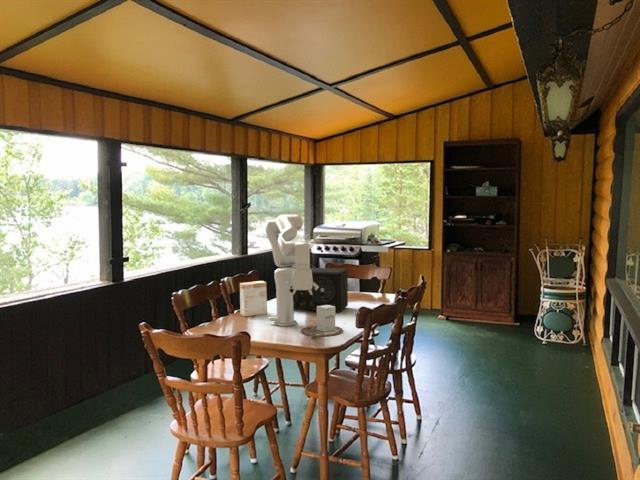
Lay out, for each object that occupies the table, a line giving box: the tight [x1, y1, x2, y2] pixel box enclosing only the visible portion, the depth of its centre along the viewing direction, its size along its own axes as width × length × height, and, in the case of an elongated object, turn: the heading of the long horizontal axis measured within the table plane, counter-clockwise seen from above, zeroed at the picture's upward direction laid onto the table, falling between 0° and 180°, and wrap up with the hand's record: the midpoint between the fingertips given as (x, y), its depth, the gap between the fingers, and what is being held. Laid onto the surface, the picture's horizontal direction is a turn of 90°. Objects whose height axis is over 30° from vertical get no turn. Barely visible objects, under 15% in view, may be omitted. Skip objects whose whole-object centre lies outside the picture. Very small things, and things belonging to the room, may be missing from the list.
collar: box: [300, 324, 344, 339], centre depth 282 cm, size 22×26×5 cm
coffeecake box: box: [239, 280, 268, 317], centre depth 328 cm, size 15×7×20 cm, turn 118°
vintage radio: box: [291, 267, 349, 314], centre depth 340 cm, size 38×20×25 cm, turn 72°
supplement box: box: [316, 305, 336, 333], centre depth 287 cm, size 7×7×13 cm
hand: (302, 301), depth 272 cm, fingers open, 7 cm apart
